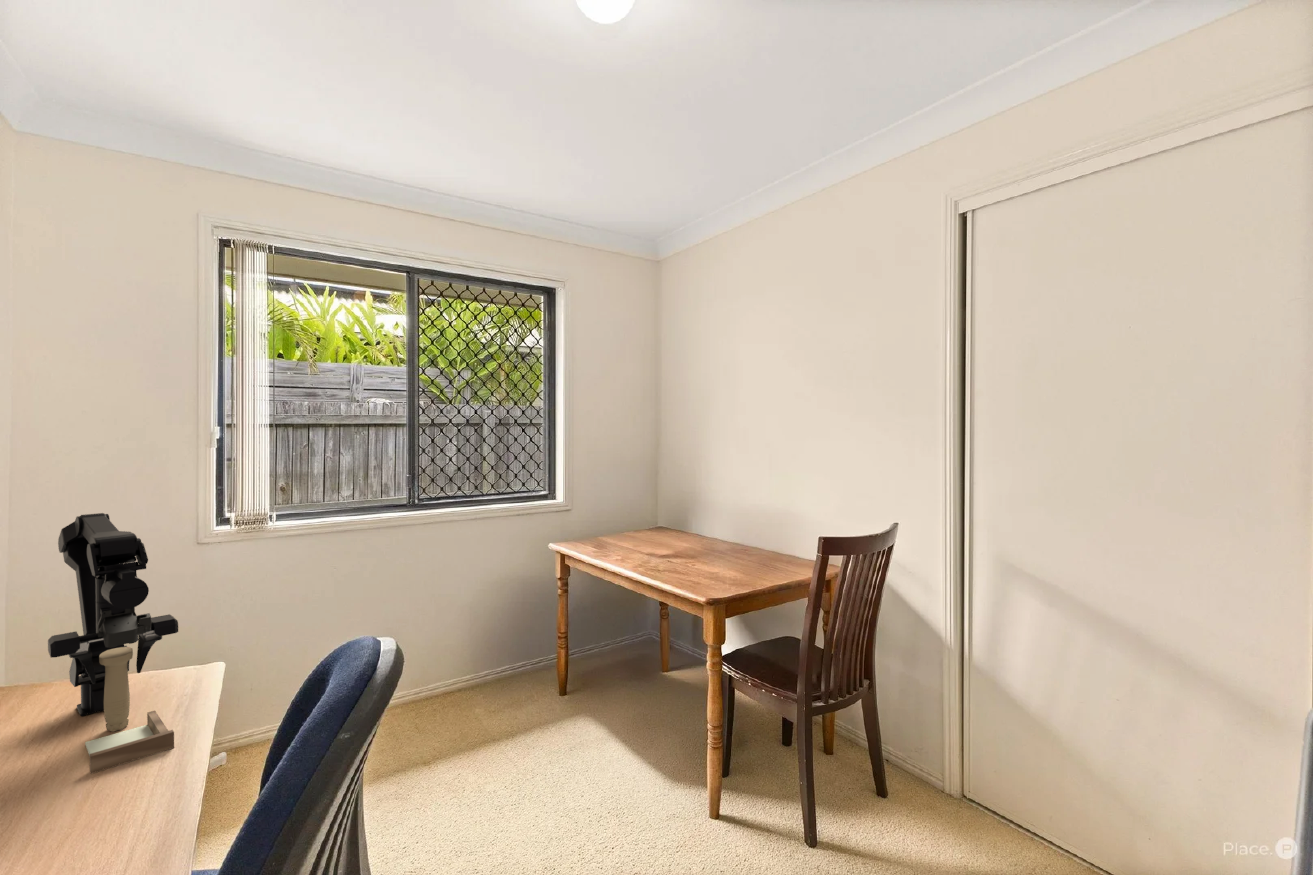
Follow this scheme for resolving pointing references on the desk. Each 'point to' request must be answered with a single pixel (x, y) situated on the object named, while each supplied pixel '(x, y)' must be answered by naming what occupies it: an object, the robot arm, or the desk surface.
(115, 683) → the handle
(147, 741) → the walls
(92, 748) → the pad
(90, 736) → the desk surface
